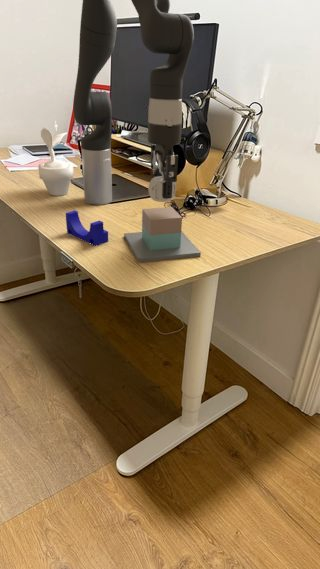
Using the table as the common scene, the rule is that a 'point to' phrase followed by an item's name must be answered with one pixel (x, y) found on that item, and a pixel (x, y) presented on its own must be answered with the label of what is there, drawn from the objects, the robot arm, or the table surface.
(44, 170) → the potted plant
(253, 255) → the table surface
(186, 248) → the brick tower
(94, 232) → the blue saddle bracket
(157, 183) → the die
